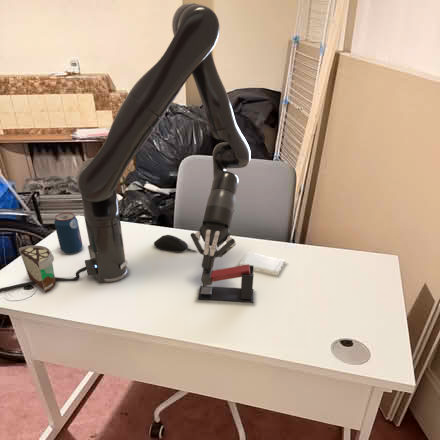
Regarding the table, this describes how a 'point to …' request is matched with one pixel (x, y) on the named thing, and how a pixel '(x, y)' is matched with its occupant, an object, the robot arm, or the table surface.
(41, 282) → the food container
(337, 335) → the table surface
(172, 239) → the gaming mouse
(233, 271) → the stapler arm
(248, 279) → the stapler base
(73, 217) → the soda can
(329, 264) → the table surface
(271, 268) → the hard drive
